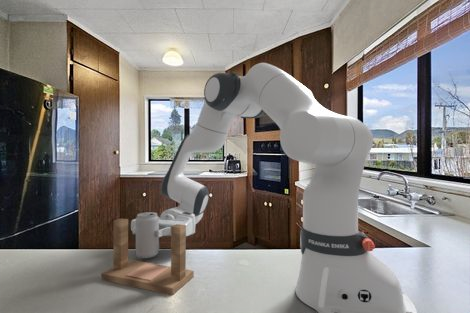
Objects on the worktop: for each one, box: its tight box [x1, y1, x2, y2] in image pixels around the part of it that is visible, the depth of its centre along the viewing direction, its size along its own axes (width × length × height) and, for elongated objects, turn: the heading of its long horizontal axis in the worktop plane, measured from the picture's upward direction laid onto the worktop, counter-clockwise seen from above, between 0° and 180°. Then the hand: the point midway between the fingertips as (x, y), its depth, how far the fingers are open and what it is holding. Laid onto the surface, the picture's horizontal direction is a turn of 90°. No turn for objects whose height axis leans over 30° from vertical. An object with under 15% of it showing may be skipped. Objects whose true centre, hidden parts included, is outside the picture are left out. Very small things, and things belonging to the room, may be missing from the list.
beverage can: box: [135, 211, 160, 259], centre depth 74 cm, size 6×6×12 cm
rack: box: [101, 218, 195, 296], centre depth 62 cm, size 20×9×14 cm, turn 70°
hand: (145, 232), depth 73 cm, fingers closed on beverage can, 6 cm apart
